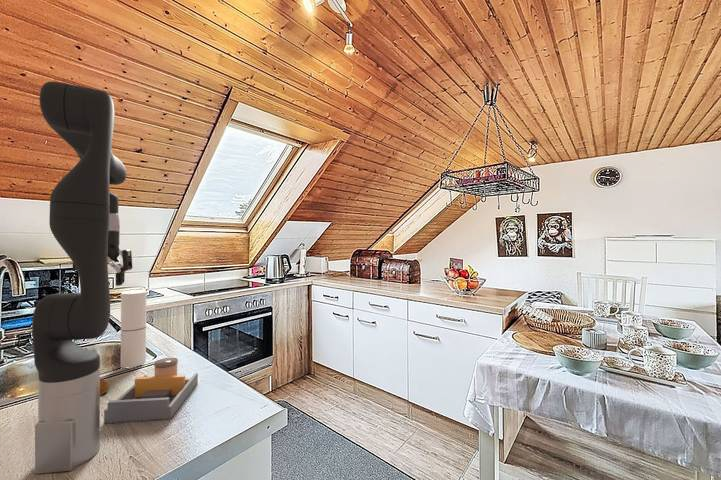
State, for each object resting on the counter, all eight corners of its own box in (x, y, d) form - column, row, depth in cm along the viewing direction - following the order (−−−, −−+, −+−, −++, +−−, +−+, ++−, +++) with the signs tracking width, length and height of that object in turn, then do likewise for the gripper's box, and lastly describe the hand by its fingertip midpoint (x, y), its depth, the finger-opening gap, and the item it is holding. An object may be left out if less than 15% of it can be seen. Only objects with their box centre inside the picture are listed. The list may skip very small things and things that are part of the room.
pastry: (116, 389, 94) (116, 376, 94) (93, 401, 87) (93, 387, 87) (90, 385, 96) (90, 372, 96) (66, 396, 89) (65, 383, 89)
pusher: (179, 400, 87) (179, 381, 87) (128, 403, 85) (128, 384, 85) (185, 392, 91) (185, 375, 91) (137, 395, 89) (137, 377, 89)
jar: (172, 392, 91) (173, 364, 91) (150, 394, 90) (150, 365, 90) (180, 383, 96) (181, 357, 96) (159, 385, 95) (159, 358, 95)
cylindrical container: (132, 369, 107) (133, 294, 106) (115, 367, 108) (115, 293, 108) (150, 361, 114) (151, 290, 113) (134, 359, 115) (134, 289, 115)
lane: (170, 419, 79) (171, 399, 79) (104, 423, 77) (104, 402, 77) (197, 383, 98) (197, 367, 98) (144, 386, 96) (144, 369, 96)
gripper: (65, 228, 88) (65, 287, 88) (122, 229, 90) (122, 287, 90) (84, 228, 95) (84, 283, 96) (137, 229, 97) (137, 283, 98)
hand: (103, 285), depth 93 cm, fingers open, 8 cm apart
